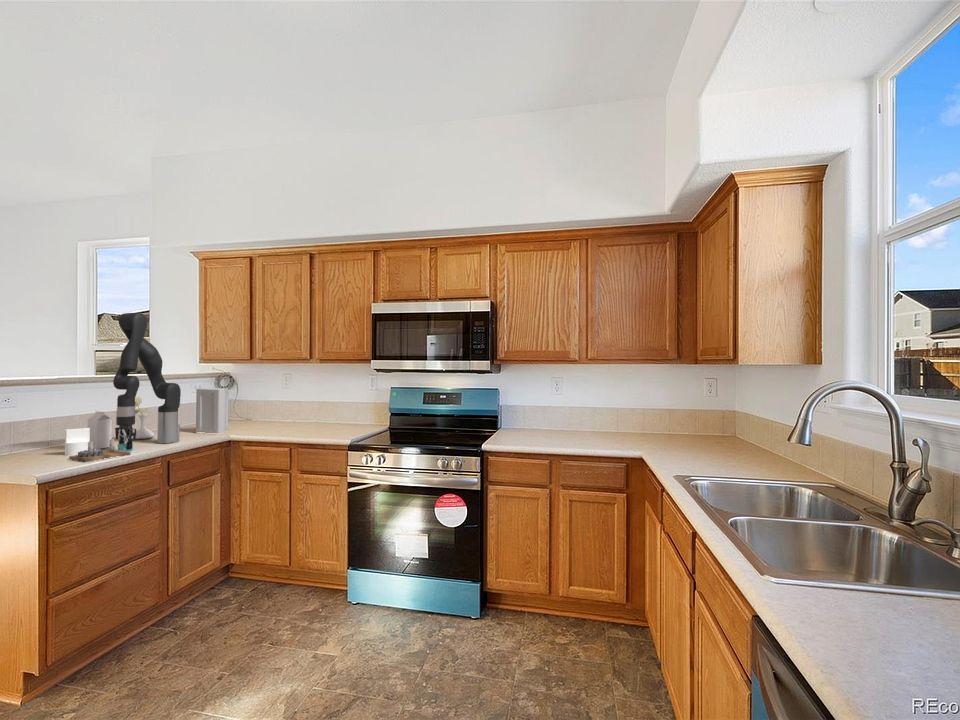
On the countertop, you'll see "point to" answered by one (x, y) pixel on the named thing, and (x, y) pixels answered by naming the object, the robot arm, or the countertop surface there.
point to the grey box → (212, 410)
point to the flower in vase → (142, 422)
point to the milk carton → (100, 430)
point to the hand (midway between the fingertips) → (125, 448)
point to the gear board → (98, 453)
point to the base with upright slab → (76, 440)
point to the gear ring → (124, 447)
